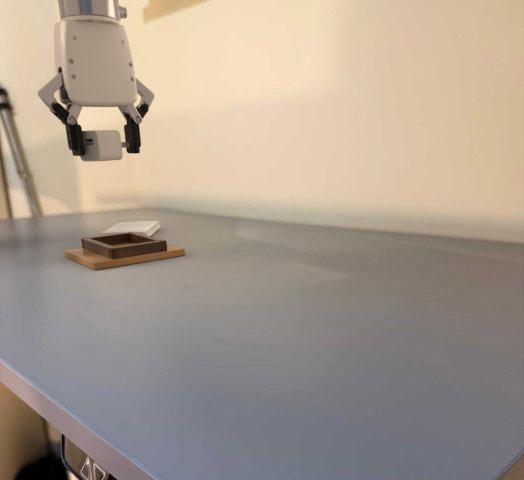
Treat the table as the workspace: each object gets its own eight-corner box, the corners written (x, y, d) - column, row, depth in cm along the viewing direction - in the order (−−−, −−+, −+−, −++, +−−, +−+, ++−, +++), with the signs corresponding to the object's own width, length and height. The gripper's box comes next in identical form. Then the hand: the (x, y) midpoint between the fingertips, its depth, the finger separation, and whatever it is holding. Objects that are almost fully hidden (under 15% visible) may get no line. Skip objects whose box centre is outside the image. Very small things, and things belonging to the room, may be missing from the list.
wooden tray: (64, 257, 81) (62, 240, 80) (149, 244, 89) (147, 229, 88) (94, 270, 72) (92, 251, 72) (185, 255, 80) (184, 238, 79)
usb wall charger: (80, 161, 76) (76, 131, 75) (115, 159, 82) (112, 130, 80) (101, 161, 74) (96, 130, 73) (135, 158, 80) (132, 129, 79)
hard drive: (117, 221, 104) (98, 232, 92) (160, 220, 104) (145, 230, 92) (118, 230, 104) (99, 241, 93) (160, 229, 104) (147, 240, 93)
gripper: (137, 24, 79) (149, 152, 85) (12, 11, 69) (37, 156, 76) (161, 14, 73) (172, 152, 80) (29, -1, 64) (54, 157, 70)
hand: (106, 153), depth 78 cm, fingers closed on usb wall charger, 7 cm apart
